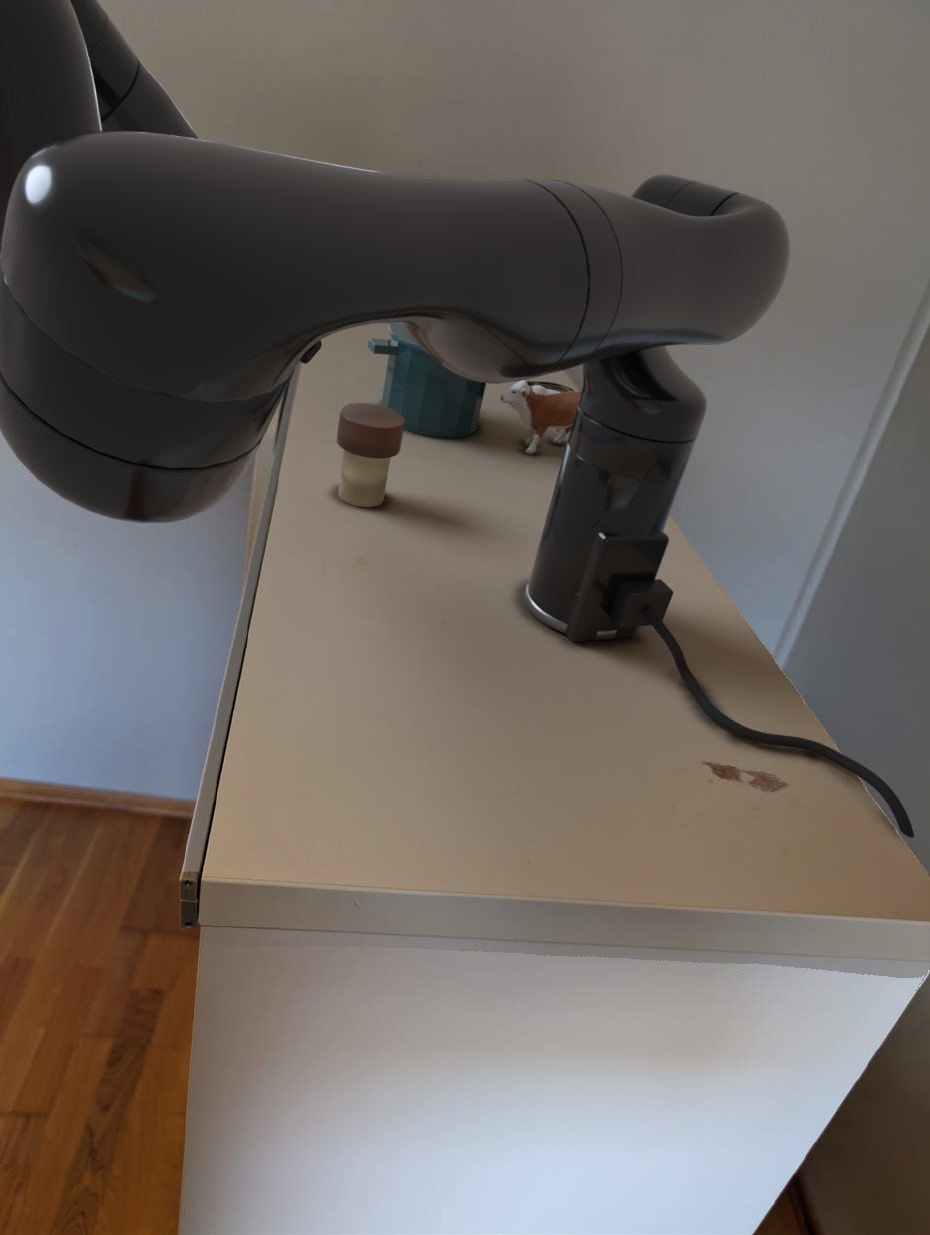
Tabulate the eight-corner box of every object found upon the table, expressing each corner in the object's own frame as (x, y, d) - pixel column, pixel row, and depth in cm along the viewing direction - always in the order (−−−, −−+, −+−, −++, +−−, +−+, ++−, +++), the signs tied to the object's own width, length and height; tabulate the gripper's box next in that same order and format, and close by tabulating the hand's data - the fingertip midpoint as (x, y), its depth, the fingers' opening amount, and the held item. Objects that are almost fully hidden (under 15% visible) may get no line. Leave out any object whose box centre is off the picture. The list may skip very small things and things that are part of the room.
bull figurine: (486, 439, 103) (500, 373, 99) (579, 441, 109) (597, 378, 105) (502, 455, 100) (518, 387, 96) (597, 455, 106) (616, 391, 102)
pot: (510, 440, 105) (529, 363, 100) (376, 435, 97) (389, 352, 92) (473, 403, 113) (488, 331, 108) (347, 396, 106) (357, 319, 101)
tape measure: (555, 405, 119) (562, 379, 118) (580, 424, 114) (587, 397, 112) (512, 403, 116) (519, 376, 115) (535, 423, 112) (542, 395, 110)
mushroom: (399, 511, 83) (414, 429, 78) (339, 511, 80) (350, 426, 76) (380, 483, 87) (393, 404, 83) (323, 483, 85) (332, 401, 80)
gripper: (45, 177, 56) (195, 341, 70) (162, 235, 49) (303, 405, 63) (121, 95, 57) (254, 273, 71) (246, 141, 50) (367, 329, 64)
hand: (277, 335), depth 67 cm, fingers open, 8 cm apart
